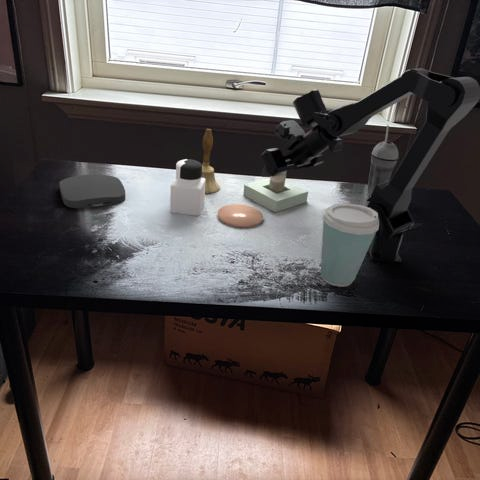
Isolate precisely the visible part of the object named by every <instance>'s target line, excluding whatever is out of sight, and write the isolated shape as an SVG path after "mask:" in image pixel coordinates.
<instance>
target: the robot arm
mask: <svg viewBox="0 0 480 480" xmlns="http://www.w3.org/2000/svg"><path fill="white" fill-rule="evenodd" d="M321 95H322V94H321V93H320V90H319V89H311V91H309V92H307V93H305V94H303V95H301V96H299V97H297V98H296V99H294V100H293V102H292V105H293V107H294V109H295V112H296V114H297V115H298V117H299V121H300V123H301V125H302V126H303V127H305V126H307V127H308V128H312V129H311V130H309V131H308V132H307V133H306V132H305V130H304V129H303V128H302V127H301V126H300V124H298V122H297V121H295V120H293V119H291V120H290V119H289V120H284V121H282V122H279V124H277V125H275V130H274V135H276V136H277V137H278V138H279V139H280V140H282V139H283V141H284V142H285V144H284V148H285V149H286V150H287V155H283V153H282V150H281V149H280V148H278V147H274V148H269V149H265V150H264V151H262V153H261V158H262V161H263V163H264V167H263V168H262V170H261V172H260V175H261V177H263V178H267V177H270V176H272V177H273V176H278V175H281V174H282V173H284V172H286V171H292V170H293V171H294V170H300V169H306V168H312V167H316V166H317V165H322V163H324V162H325V161H326V155H325V152H324V151H326V150H328V149H329V151H330V152H331V153H334V152H338V151H339V152H340V151H342V150H343V141H344V140H343V139H342V138H340V137H342V136H347V135H351V134H355V133H357V132H358V131H359V130H360V129H362V128H363V127H364V126H366V125H367V124H368V122H369V120H370V119H371V118H373V117H375V116H376V115H377V114H379V113H381V112H383V111H384V110H386V109H388V108H390V107H392V106H394V105H395V104H397V103H399V102H401V101H404V99H406V98H408V97H410V96H411V95H415V96H417V97H418V98H420V99H422V100H423V101H426V102H428V103H427V107H426V116H425V121H424V124H423V125H422V127H421V128H420V129H419V132H418V134H417V135H416V137H415V139H414V140H413V141H412V143H411V145H410V147H409V148H408V150H407V151H406V154H405V156H404V157H403V159H402V160H401V162H400V164H399V165H398V167H397V169H396V171H395V172H394V174H393V176H392V178H390V180H389V181H388V182H385V183H382V184H379V185H376V186H375V188H374V190H373V193H372V195H371V197H370V196H369V198H367V199H366V201H367V202H368V203H367V205H366V207H368V208H371V209H373V210H374V211H376V212H377V213H378V219H379V229H378V231H376V233H375V235H374V237H373V240H372V242H371V244H370V246H369V249H368V251H367V253H368V254H370V255H369V257H370V259H371V260H372V261H377V262H386V261H388V263H396V262H401V263H402V258H401V256H400V254H399V250H400V246H401V244H402V240H403V236H404V232H405V231H409V230H411V228H412V227H413V226H414V224H415V220H414V218H413V216H412V215H411V212H410V211H409V206H410V203H411V201H412V192H413V189H414V186H415V185H416V184H417V182H418V181H419V178H420V177H421V175H422V174H423V172H424V171H425V169H426V168H427V166H428V164H429V163H430V161H431V160H432V159H433V156H434V155H435V153H436V152H437V150H438V148H439V147H440V146H441V144H442V143H443V141H444V140H445V138H446V136H447V134H448V133H449V132H450V130H451V129H452V128H453V127H454V126H456V125H457V123H459V122H460V121H461V120H462V119H464V118H465V117H466V116H467V115H468V114H469V112H470V111H472V109H473V108H474V107H475V106H476V105H477V103H479V101H480V83H479V82H478V81H477V80H476V79H475V78H473V77H471V76H462V77H454V76H451V75H450V76H449V75H446V74H442V73H437V72H433V71H430V70H428V69H425V68H422V67H421V68H420V67H419V68H409V69H407V70H405V71H404V73H402V74H401V75H399V76H397V77H396V78H394V79H393V80H391V81H389V82H388V83H386V84H384V85H383V86H381V87H380V88H378V89H377V90H376V89H375V91H373V92H371V93H369V94H368V95H366V96H365V97H363V98H361V99H360V100H358V101H355V102H352V103H350V104H346V105H343V106H342V105H341V106H340V107H337V108H334V109H327V107H326V105H325V103H324V101H323V98H322V96H321ZM286 173H287V172H286Z"/></svg>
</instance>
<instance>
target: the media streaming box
mask: <svg viewBox="0 0 480 480" xmlns="http://www.w3.org/2000/svg"><path fill="white" fill-rule="evenodd" d="M58 183H59V191H60V196H61V200H62V202H63V204H64V205H65V206H66V207H69V208H71V209H72V208H73V209H86V208H87V209H88V208H97V207H108V206H115V205H119V204H122V203H124V202H125V200H126V190H125V186H124V185H123V182H122V181H121V180H120V178H119V177H117V176H113V175H109V174H96V173H94V174H92V173H91V174H81V175H75V176H69V177H67V178H64V179H62V180H61V181H59V182H58Z"/></svg>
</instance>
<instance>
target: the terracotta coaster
mask: <svg viewBox="0 0 480 480" xmlns="http://www.w3.org/2000/svg"><path fill="white" fill-rule="evenodd" d="M217 219H218V220H219V221H220V222H221V223H223V224H224V225H226V226H230V227H234V228H243V229H246V228H247V229H248V228H254V227H257V226H259V225H261V224H262V223H263V220H264V214H263V213H262V211H261V210H259V209H258V208H256V207H254V206H251V205H248V204H240V203H232V204H231V203H230V204H226V205H223V206H221V207H220V208H219V209H218V211H217Z"/></svg>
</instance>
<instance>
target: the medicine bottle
mask: <svg viewBox="0 0 480 480" xmlns="http://www.w3.org/2000/svg"><path fill="white" fill-rule="evenodd" d="M175 164H176V165H175V178H174V180H173V182H172V183H171V184H170V200H169V201H170V205H169V207H170V210H169V212H170V213H171V214H172V213H173V214H179V215H180V214H181V215H186V216H193V217H195V216H196V217H199V216H200V215H201V212H202V211H203V208H204V205H205V197H206V193H205V182H206V179H205V178H202V165H203V163H201V162H200V161H198V160H195V159H187V158H185V159H181V160H178V161H177V162H176V163H175Z"/></svg>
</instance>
